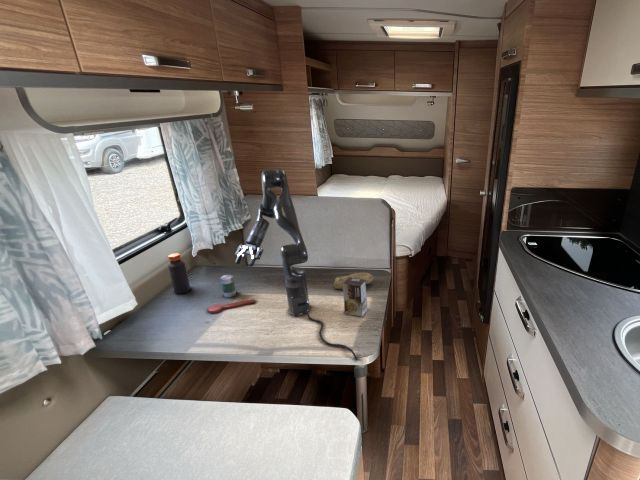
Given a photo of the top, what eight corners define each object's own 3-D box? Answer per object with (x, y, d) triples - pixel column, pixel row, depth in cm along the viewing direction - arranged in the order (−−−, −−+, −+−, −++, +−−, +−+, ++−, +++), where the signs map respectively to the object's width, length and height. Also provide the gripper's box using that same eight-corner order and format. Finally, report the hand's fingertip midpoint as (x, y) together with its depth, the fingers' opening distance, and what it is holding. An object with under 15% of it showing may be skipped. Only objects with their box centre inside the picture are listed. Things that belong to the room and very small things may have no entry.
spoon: (254, 304, 161) (254, 302, 161) (207, 314, 153) (207, 312, 153) (254, 298, 166) (253, 296, 166) (208, 307, 158) (208, 305, 158)
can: (238, 292, 171) (235, 275, 168) (230, 298, 166) (226, 280, 163) (230, 291, 173) (226, 273, 169) (221, 296, 168) (217, 278, 164)
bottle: (175, 295, 168) (166, 259, 161) (173, 290, 172) (164, 254, 166) (191, 291, 172) (183, 255, 165) (189, 285, 177) (181, 251, 170)
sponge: (335, 294, 173) (372, 287, 173) (331, 280, 172) (369, 273, 172) (340, 286, 186) (375, 279, 186) (337, 273, 185) (372, 266, 185)
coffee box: (367, 309, 159) (366, 279, 154) (362, 317, 153) (361, 286, 148) (350, 306, 162) (348, 276, 156) (344, 313, 156) (342, 283, 150)
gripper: (241, 232, 180) (227, 260, 174) (263, 235, 176) (250, 264, 170) (250, 238, 187) (237, 265, 181) (271, 241, 183) (259, 269, 177)
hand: (243, 264), depth 175 cm, fingers open, 8 cm apart
